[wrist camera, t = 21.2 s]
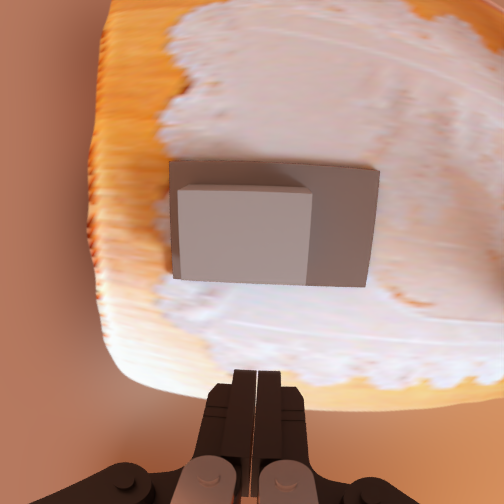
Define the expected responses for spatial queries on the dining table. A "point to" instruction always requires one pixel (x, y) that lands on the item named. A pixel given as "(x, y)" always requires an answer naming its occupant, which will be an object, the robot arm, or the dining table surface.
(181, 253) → the slab
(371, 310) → the dining table surface
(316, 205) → the slate board
